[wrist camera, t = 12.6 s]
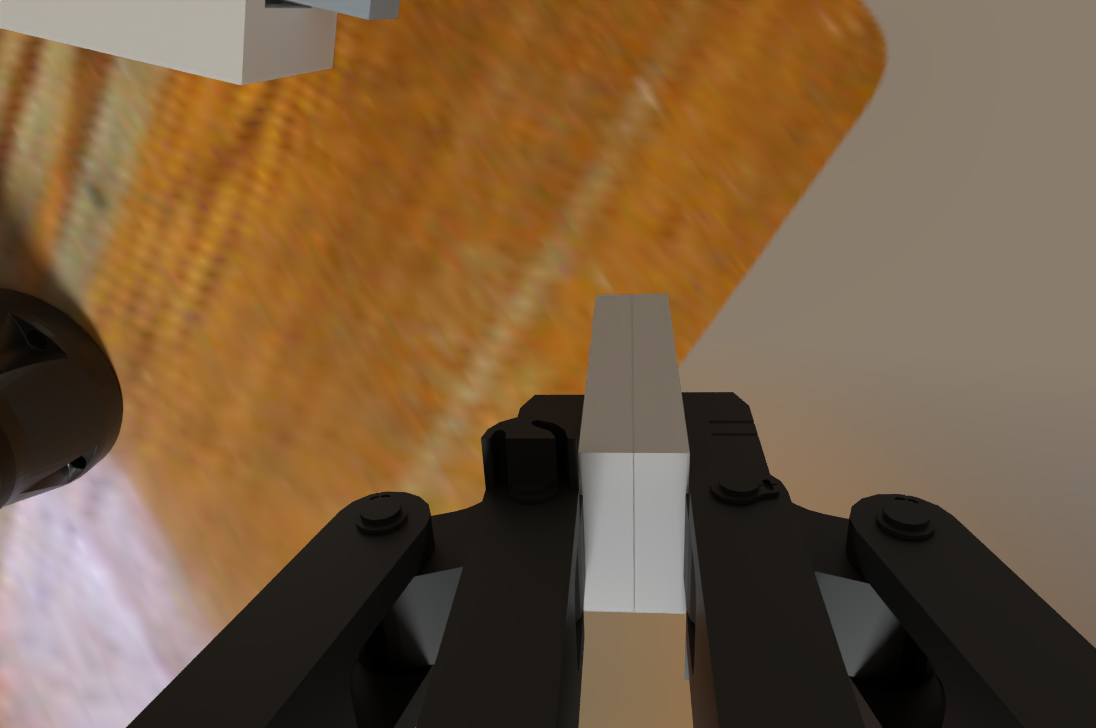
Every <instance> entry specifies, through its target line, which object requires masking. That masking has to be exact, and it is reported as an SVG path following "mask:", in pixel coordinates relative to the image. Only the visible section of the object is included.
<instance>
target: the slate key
mask: <svg viewBox="0 0 1096 728" xmlns="http://www.w3.org/2000/svg"><path fill="white" fill-rule="evenodd" d="M288 1H292V2H296V3H300V4H304V5H309V6H313V7H317V8H321V9H325V10H330V11H334V12H338V13H342V14H346V15H351V16H355V17H359V18H363V19H368V20H377V19H398V11H399V3H400V0H288Z"/></svg>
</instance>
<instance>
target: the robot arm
mask: <svg viewBox="0 0 1096 728" xmlns="http://www.w3.org/2000/svg"><path fill="white" fill-rule="evenodd" d="M121 422H122V401H121V395H120V391H119V387H118V384H117V381H116V378H115V375H114V373H113V371H112V369H111V367H110V365H109V363H108V361H107V360H106V358H105V356H104V355H103V353H102V352H101V350H100V349H99V348H98V346H97V345H96V344H95V342H94V341H93V340H92V339H91V338H90V337H89V335H88V334H87V333H86V332H85V331H84V330H83V329H82V328H81V327H80V326H78V325H77V324H76V323H75V322H74V321H73V320H71V319H70V318H69V317H67V316H66V315H65V314H63V313H62V312H60V311H59V310H57V309H56V308H54V307H53V306H51V305H49V304H47V303H45V302H43V301H41V300H39V299H37V298H35V297H32V296H30V295H27V294H24V293H21V292H17V291H13V290H9V289H3V288H0V509H1V508H2V507H4V506H7V505H10V504H13V503H16V502H19V501H21V500H24V499H27V498H30V497H33V496H36V495H39V494H41V493H44V492H47V491H50V490H53V489H56V488H59V487H61V486H64V485H67V484H69V483H71V482H73V481H74V480H76V479H78V478H80V477H81V476H82V475H84V474H85V473H86V472H88V471H89V470H90V469H91V468H92V467H93V466H95V465H96V464H97V463H98V462H99V461H100V460H102V459H103V458H104V457H105V456H106V455H107V454H108V453H109V451H110V450H111V449H112V447H113V445H114V444H115V442H116V440H117V437H118V435H119V432H120V428H121ZM481 443H482V454H483V464H484V475H485V485H486V491H485V494H484V497H483V501H482V502H480V503H479V504H476V505H474V506H472V507H469V508H467V509H463V510H459V511H455V512H450V513H445V514H440V515H434V516H431V513H430V509H429V504H427V503H426V502H425V501H424V500H423V499H422V498H420V497H419V496H416V495H412V494H409V493H406V492H381V493H375V494H371V495H368V496H366V497H363V498H361V499H358V500H356V501H354V502H352V503H350V504H349V505H348V506H346V507H345V508H344V509H342V510H341V511H340V512H339V513H338V514H337V515H336V516H335V517H334V518H333V519H332V520H331V521H330V522H329V523H328V524H327V525H326V526H325V527H324V528H323V529H322V530H321V531H320V532H319V533H318V534H317V535H316V536H315V537H314V538H313V539H312V540H311V541H310V542H309V543H308V544H307V545H306V546H305V547H304V548H303V549H302V550H301V551H300V552H299V553H298V554H297V555H296V556H295V557H294V558H293V559H292V560H291V561H290V562H289V563H288V564H287V565H286V566H285V567H284V568H283V569H282V570H281V571H280V572H279V573H278V574H277V575H276V576H275V577H274V578H273V579H272V580H271V581H270V582H269V583H268V584H267V586H266V587H265V588H264V589H263V590H262V591H261V592H260V593H259V594H258V595H257V596H256V597H255V598H254V599H253V600H252V601H251V602H250V603H249V604H248V605H247V606H246V607H245V608H244V609H243V610H242V611H241V612H240V613H239V614H238V615H237V616H236V617H235V618H234V619H233V620H232V621H231V622H230V623H229V624H228V625H227V626H226V627H225V628H224V629H223V630H222V631H221V632H220V633H219V634H218V635H217V636H216V637H215V638H214V639H213V640H212V641H211V642H210V643H209V644H208V645H207V646H206V647H205V648H204V649H203V650H202V651H201V652H200V653H199V654H198V655H197V656H196V657H195V658H194V659H193V660H192V661H191V662H190V663H189V664H188V665H187V666H186V667H185V668H184V669H183V670H182V672H181V673H180V674H179V675H178V676H177V677H176V678H175V679H174V680H173V681H172V682H171V683H170V684H169V685H168V686H167V687H166V688H165V689H164V690H163V691H162V692H161V693H160V694H159V695H158V696H157V697H156V698H155V699H154V700H153V701H152V702H151V703H150V704H149V705H148V706H147V707H146V708H145V709H144V710H143V711H142V712H141V713H140V714H139V715H138V716H137V717H136V718H135V719H134V720H133V721H132V722H131V723H130V724H129V725H128V726H127V727H126V728H415V727H416V728H578V724H579V711H580V695H581V679H582V665H583V650H584V613H583V607H584V611H605V612H645V613H683V614H684V613H685V610H686V609H685V608H687V611H686V646H685V648H686V649H685V679H686V680H689V681H690V692H691V704H692V715H693V727H694V728H1096V648H1094V647H1093V646H1092V645H1091V644H1090V643H1089V642H1088V641H1087V640H1086V639H1085V638H1084V637H1083V636H1082V635H1081V634H1079V633H1078V632H1077V631H1076V630H1075V629H1074V628H1073V627H1072V626H1071V625H1070V624H1069V623H1068V622H1066V620H1064V619H1063V618H1062V617H1061V616H1060V615H1059V614H1058V613H1057V612H1056V611H1055V610H1054V609H1053V608H1052V607H1050V606H1049V605H1048V604H1047V603H1046V602H1045V601H1044V600H1043V599H1042V598H1041V597H1040V596H1038V594H1036V593H1035V592H1034V591H1033V590H1032V589H1031V588H1030V587H1029V586H1028V585H1027V584H1026V583H1025V582H1024V581H1023V580H1021V579H1020V578H1019V577H1018V576H1017V575H1016V574H1015V573H1014V572H1013V571H1012V570H1011V569H1010V568H1008V567H1007V566H1006V565H1005V564H1004V563H1003V562H1002V561H1001V560H1000V559H999V558H998V557H997V556H996V555H995V554H994V553H992V552H991V551H990V550H989V549H988V548H987V547H986V546H985V545H984V544H983V543H981V541H980V540H979V539H977V538H976V537H975V536H974V535H973V534H972V533H971V532H970V531H969V530H968V529H967V528H966V527H964V526H963V525H962V524H961V523H960V522H959V521H958V520H957V519H956V518H955V517H954V516H952V515H951V514H950V513H948V512H946V511H945V510H943V509H942V508H941V507H939V506H938V505H935V504H932V503H930V502H927V501H925V500H922V499H920V498H917V497H913V496H905V495H901V494H877V495H874V496H870V497H867V498H863V499H861V500H860V501H858V502H857V503H856V504H855V505H853V506H852V508H851V513H850V517H849V519H845V518H841V517H836V516H831V515H826V514H822V513H818V512H814V511H810V510H807V509H805V508H803V507H800V506H798V505H796V504H794V503H792V502H791V499H790V496H789V493H788V491H787V489H786V488H785V486H784V485H783V484H782V482H781V481H780V480H778V479H776V478H775V477H773V476H772V475H770V473H769V469H768V466H767V463H766V460H765V456H764V453H763V450H762V447H761V443H760V440H759V437H758V436H757V430H756V427H755V424H754V420H753V417H752V414H751V411H750V407H749V405H748V404H746V403H745V402H744V401H743V400H742V399H740V398H739V397H738V396H737V395H736V394H734V393H733V392H711V393H710V392H689V393H688V392H687V393H686V392H685V393H684V392H681V386H680V379H679V372H678V364H677V357H676V350H675V343H674V336H673V329H672V321H671V314H670V307H669V300H668V294H618V295H596V300H595V308H594V317H593V326H592V335H591V344H590V352H589V361H588V370H587V379H586V388H585V395H534V396H533V397H532V398H531V399H530V400H529V401H528V402H526V403H525V404H524V405H523V406H522V407H521V408H520V411H519V414H518V417H517V418H513V419H509V420H506V421H503V422H499V423H498V424H496V425H494V426H493V427H491V428H489V429H488V430H487V431H486V432H485V434H484V435H483V436H482V438H481ZM416 725H417V726H416Z"/></svg>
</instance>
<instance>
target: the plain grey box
mask: <svg viewBox="0 0 1096 728" xmlns="http://www.w3.org/2000/svg"><path fill="white" fill-rule="evenodd" d="M337 14H338V12H334V11H330V10H325V9H321V8H317V7H313V6H309V5H304V4H300V3H296V2H292V1H288V0H0V28H2V29H6V30H10V31H15V32H19V33H23V34H27V35H31V36H36V37H40V38H44V39H48V40H52V41H57V42H61V43H65V44H69V45H74V46H78V47H82V48H86V49H90V50H95V51H99V52H103V53H107V54H111V55H116V56H120V57H124V58H128V59H132V60H137V61H141V62H145V63H149V64H154V65H158V66H162V67H166V68H170V69H175V70H179V71H183V72H187V73H191V74H196V75H200V76H204V77H208V78H213V79H217V80H221V81H225V82H229V83H234V84H238V85H246V84H251V83H257V82H262V81H267V80H272V79H278V78H283V77H288V76H293V75H298V74H304V73H309V72H314V71H319V70H324V69H330V68H333V57H334V46H335V36H336V25H337Z"/></svg>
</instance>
